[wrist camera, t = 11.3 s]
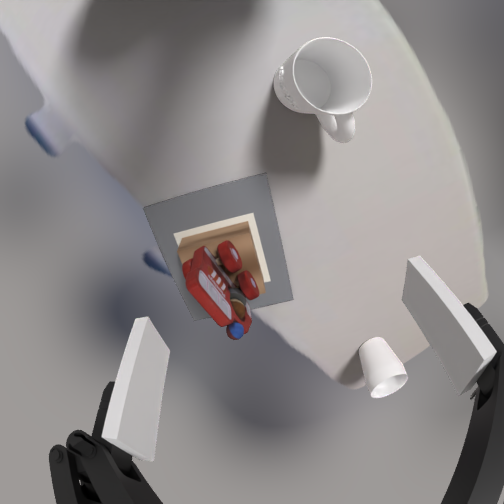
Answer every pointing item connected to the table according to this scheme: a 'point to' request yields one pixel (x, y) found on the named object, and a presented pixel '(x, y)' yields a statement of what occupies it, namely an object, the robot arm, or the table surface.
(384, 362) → the cup
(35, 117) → the table surface
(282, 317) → the table surface
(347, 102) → the mug
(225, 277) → the toy fire truck
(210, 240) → the base block
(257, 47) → the table surface
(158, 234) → the mat
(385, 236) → the table surface
